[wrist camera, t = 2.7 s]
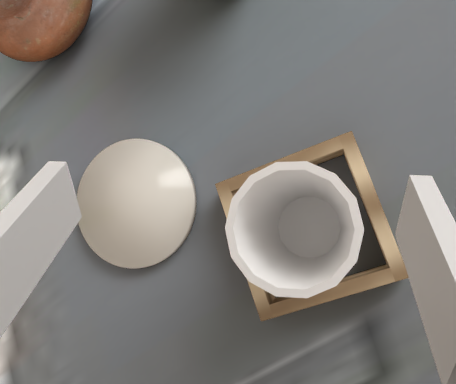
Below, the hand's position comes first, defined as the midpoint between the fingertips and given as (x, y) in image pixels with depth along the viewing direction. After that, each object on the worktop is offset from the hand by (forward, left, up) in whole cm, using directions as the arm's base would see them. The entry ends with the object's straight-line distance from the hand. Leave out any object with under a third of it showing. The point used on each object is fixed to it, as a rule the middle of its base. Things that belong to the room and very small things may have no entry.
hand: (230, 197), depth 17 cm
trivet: (+15, +11, -26) cm, 32 cm away
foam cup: (-1, +1, -27) cm, 27 cm away
